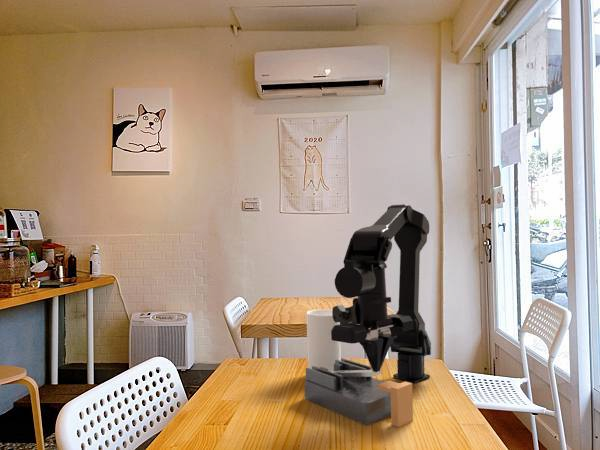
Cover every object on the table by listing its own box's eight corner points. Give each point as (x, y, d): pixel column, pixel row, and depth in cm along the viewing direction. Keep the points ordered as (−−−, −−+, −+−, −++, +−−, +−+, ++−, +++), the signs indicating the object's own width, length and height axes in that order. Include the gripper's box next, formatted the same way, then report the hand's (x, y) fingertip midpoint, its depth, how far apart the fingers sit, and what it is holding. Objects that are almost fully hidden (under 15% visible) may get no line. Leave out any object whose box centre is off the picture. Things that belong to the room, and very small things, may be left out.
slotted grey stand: (344, 385, 105) (343, 357, 105) (407, 408, 91) (406, 376, 91) (304, 398, 98) (304, 368, 98) (366, 425, 84) (365, 390, 84)
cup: (339, 383, 107) (337, 315, 107) (305, 381, 109) (303, 315, 109) (342, 372, 115) (341, 309, 115) (311, 370, 117) (309, 309, 117)
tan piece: (391, 412, 89) (390, 376, 89) (413, 420, 85) (412, 383, 85) (376, 418, 87) (375, 382, 87) (398, 427, 83) (397, 389, 83)
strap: (325, 377, 99) (324, 372, 99) (334, 374, 101) (333, 369, 101) (373, 377, 88) (372, 372, 88) (382, 374, 90) (381, 369, 90)
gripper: (372, 287, 103) (376, 356, 102) (310, 295, 91) (314, 374, 90) (412, 289, 94) (417, 364, 93) (350, 298, 82) (355, 385, 81)
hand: (376, 371), depth 89 cm, fingers closed, pressing on strap
